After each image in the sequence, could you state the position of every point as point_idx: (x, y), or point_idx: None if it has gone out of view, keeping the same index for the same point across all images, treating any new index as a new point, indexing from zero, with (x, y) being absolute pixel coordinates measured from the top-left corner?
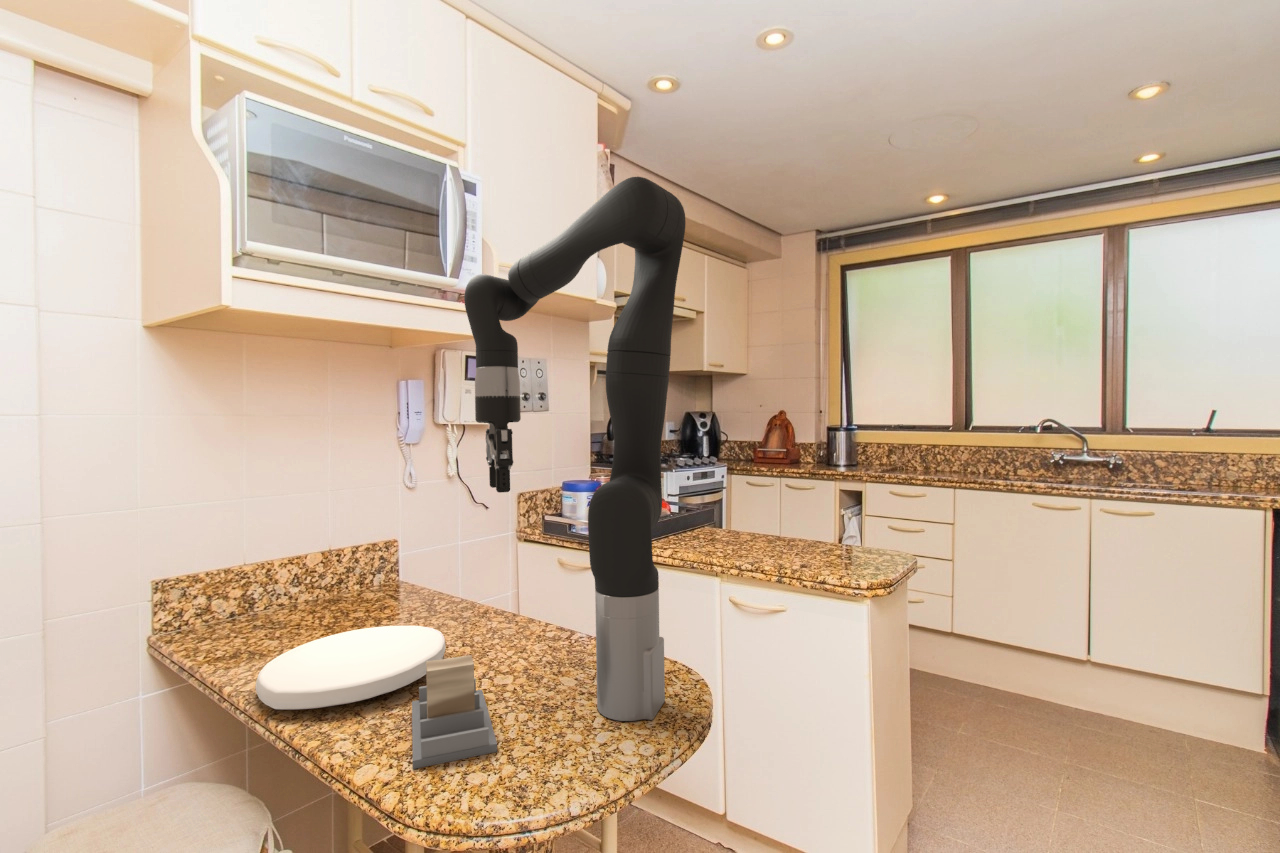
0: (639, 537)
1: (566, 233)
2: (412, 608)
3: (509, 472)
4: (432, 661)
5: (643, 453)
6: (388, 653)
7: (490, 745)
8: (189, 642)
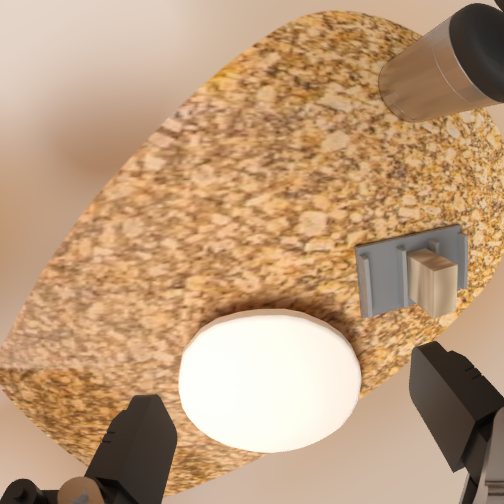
0: None
1: None
2: (54, 356)
3: (486, 398)
4: (434, 312)
5: None
6: (309, 370)
7: (460, 231)
8: None
